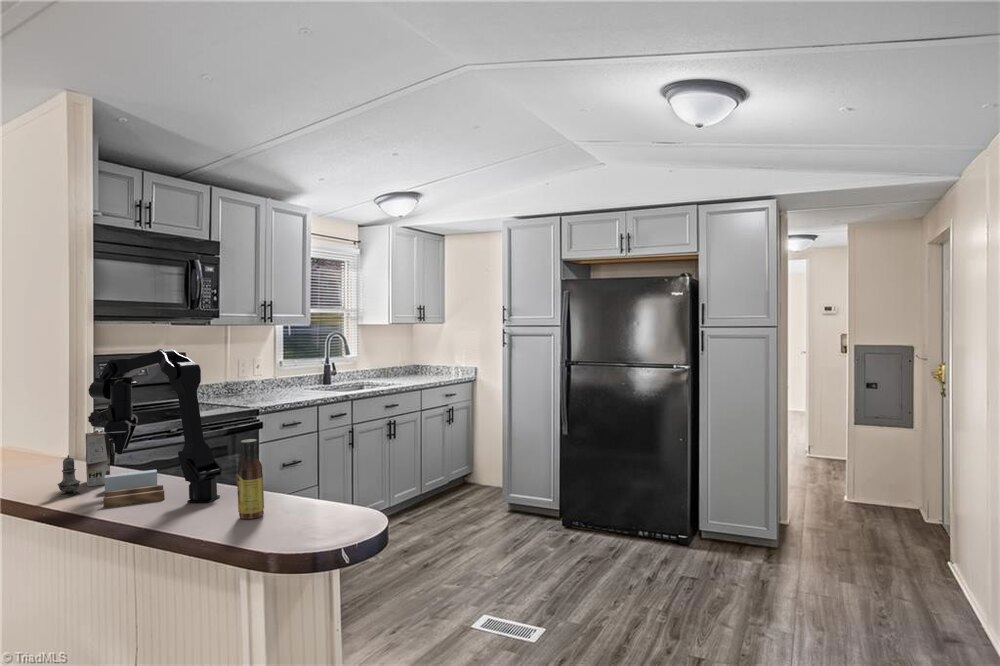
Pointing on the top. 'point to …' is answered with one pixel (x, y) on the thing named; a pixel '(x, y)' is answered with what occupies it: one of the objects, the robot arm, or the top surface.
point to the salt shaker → (68, 479)
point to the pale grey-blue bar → (130, 480)
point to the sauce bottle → (250, 482)
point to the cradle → (133, 495)
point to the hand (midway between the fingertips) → (122, 451)
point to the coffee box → (97, 457)
